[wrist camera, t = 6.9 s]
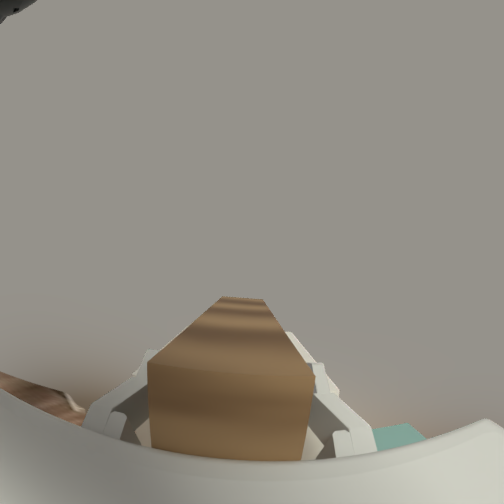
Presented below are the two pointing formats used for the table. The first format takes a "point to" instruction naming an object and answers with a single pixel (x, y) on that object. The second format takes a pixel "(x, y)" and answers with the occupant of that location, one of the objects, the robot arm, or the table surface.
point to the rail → (231, 387)
